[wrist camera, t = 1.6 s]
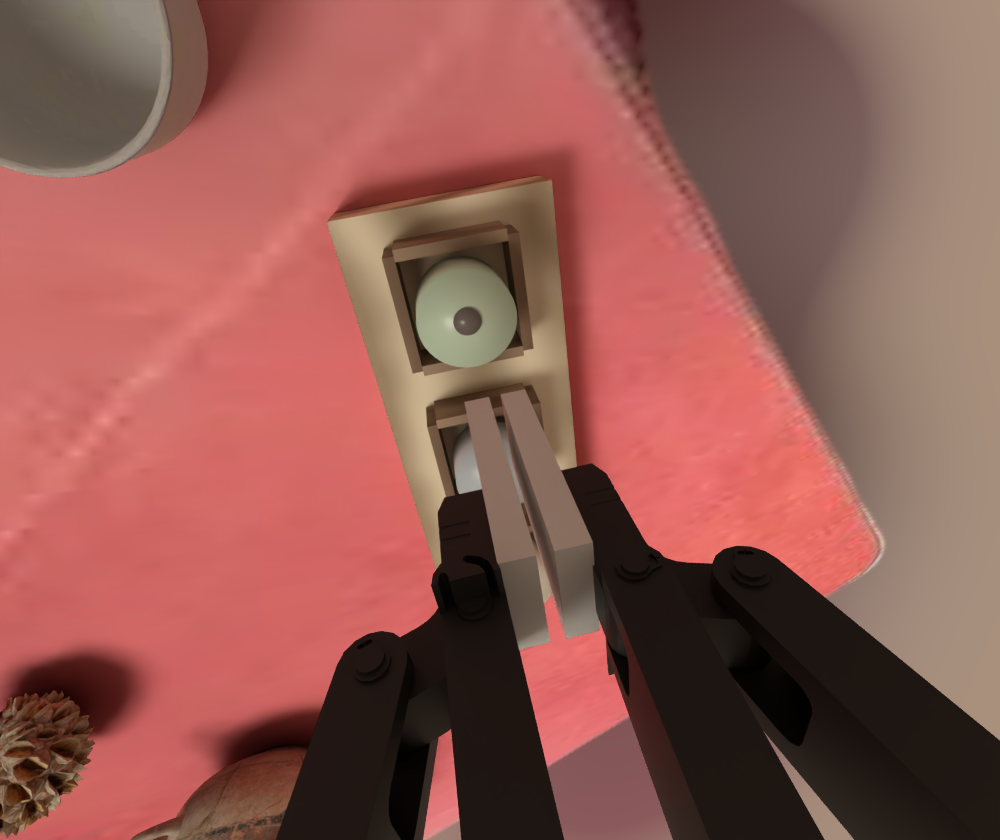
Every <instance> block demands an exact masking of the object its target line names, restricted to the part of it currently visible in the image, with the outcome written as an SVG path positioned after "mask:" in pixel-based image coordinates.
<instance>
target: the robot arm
mask: <svg viewBox="0 0 1000 840" xmlns="http://www.w3.org/2000/svg"><path fill="white" fill-rule="evenodd" d="M501 400H502V406H503V412H504V417H505V423H506V429H507V435H508V441H509V447H510V452H511V458H512V464H513V468H514V471H515V475H516V478H517V481H518V484H519V488H520V491H521V494H522V497H523V501H524V504H525V507H526V510H527V514H528V517H529V520H530V523H531V526H532V530H533V533H534V536H535V539H536V543H537V546H538V549H539V552H540V556H541V559H542V562H543V565H544V569H545V572H546V575H547V578H548V582H549V585H550V588H551V591H552V595H553V598H554V601H555V604H556V608H557V611H558V614H559V617H560V621H561V624H562V627H563V630H564V633H565V637H566V639H567V638H571V637H575V636H579V635H583V634H587V633H592V632H596V631H599V620H600V623H601V626H602V628H603V631H604V633H605V636H606V649H607V664H608V672H609V675H612V674H615V677H616V679H617V682H618V685H619V688H620V691H621V694H622V696H623V699H624V702H625V705H626V708H627V711H628V713H629V716H630V719H631V722H632V725H633V728H634V730H635V733H636V736H637V739H638V742H639V745H640V747H641V750H642V753H643V756H644V759H645V762H646V764H647V767H648V770H649V773H650V776H651V779H652V781H653V784H654V787H655V790H656V793H657V796H658V798H659V801H660V804H661V807H662V810H663V813H664V815H665V818H666V821H667V824H668V827H669V829H670V832H671V835H672V838H673V840H824V838H823V836H822V834H821V833H820V831H819V829H818V827H817V826H816V824H815V822H814V820H813V818H812V817H811V815H810V813H809V811H808V809H807V808H806V806H805V804H804V803H803V801H802V799H801V797H800V795H799V794H798V792H797V790H796V788H795V786H794V785H793V783H792V781H791V779H790V778H789V776H788V774H787V772H786V771H785V769H784V767H783V765H782V763H781V762H780V760H779V758H778V756H777V755H776V753H775V751H774V749H773V748H772V746H771V744H770V742H769V741H768V739H767V737H766V735H765V733H766V734H767V736H768V737H769V738H770V739H771V740H772V742H773V743H774V744H775V745H776V746H777V747H778V749H779V750H780V751H781V752H782V754H783V755H784V756H785V757H786V758H787V760H788V761H789V762H790V763H791V764H792V766H793V767H794V768H795V769H796V770H797V772H798V773H799V774H800V775H801V776H802V778H803V779H804V780H805V781H806V782H807V784H808V785H809V786H810V787H811V788H812V789H813V791H814V792H815V793H816V794H817V795H818V797H819V798H820V799H821V800H822V801H823V803H824V804H825V805H826V806H827V807H828V808H829V810H830V811H831V812H832V813H833V815H834V816H835V817H836V818H837V819H838V821H839V822H840V823H841V824H842V825H843V827H844V828H845V829H846V830H847V831H848V833H849V834H850V835H851V836H852V837H853V839H854V840H1000V741H999V740H998V739H997V738H996V737H995V736H994V735H992V734H991V733H990V732H989V731H987V730H986V729H985V728H984V727H983V726H981V725H980V724H979V723H977V722H976V721H975V720H974V719H973V718H972V717H970V716H969V715H968V714H967V713H965V712H964V711H963V710H962V709H961V708H959V707H958V706H957V705H956V704H954V703H953V702H952V701H951V700H950V699H948V698H947V697H946V696H945V695H943V694H942V693H941V692H940V691H939V690H937V689H936V688H935V687H934V686H932V685H931V684H930V683H929V682H928V681H926V680H925V679H924V678H923V677H921V676H920V675H919V674H918V673H916V672H915V671H914V670H913V669H912V668H910V667H909V666H908V665H907V664H906V663H904V662H903V661H902V660H901V659H899V658H898V657H897V656H896V655H895V654H893V653H892V652H891V651H890V650H888V649H887V648H886V647H885V646H883V645H882V644H881V643H880V642H879V641H877V640H876V639H875V638H874V637H872V636H871V635H870V634H869V633H867V632H866V631H865V630H864V629H863V628H862V627H860V626H859V625H858V624H857V623H855V622H854V621H853V620H852V619H851V618H849V617H848V616H847V615H846V614H844V613H843V612H842V611H841V610H839V609H838V608H837V607H836V606H834V605H833V604H832V603H831V602H830V601H828V600H827V599H826V598H825V597H824V596H822V595H821V594H820V593H819V592H818V591H816V590H815V589H814V588H813V587H811V586H810V585H809V584H808V583H807V582H805V581H804V580H803V579H802V578H800V577H799V576H798V575H797V574H796V573H794V572H793V571H792V570H791V569H789V568H788V567H787V566H786V565H785V564H783V563H782V562H781V561H780V560H778V559H777V558H775V557H774V556H772V555H771V554H769V553H767V552H766V551H763V550H760V549H757V548H753V547H748V546H734V547H730V548H726V549H724V550H722V551H721V552H720V553H718V554H717V555H716V556H715V558H714V561H713V563H712V564H707V563H686V562H678V561H674V560H671V559H667V558H665V557H663V555H662V554H661V553H660V552H659V551H657V550H655V549H653V548H652V547H650V546H648V545H647V543H646V542H645V540H644V539H643V537H642V535H641V533H640V532H639V530H638V528H637V526H636V525H635V523H634V521H633V519H632V518H631V516H630V514H629V512H628V511H627V509H626V507H625V505H624V504H623V502H622V501H621V499H620V497H619V495H618V493H617V491H616V490H615V489H614V486H613V484H612V483H611V481H610V479H609V477H608V476H607V474H606V473H605V472H603V471H602V470H600V469H599V468H598V467H596V466H595V465H593V464H587V465H583V466H578V467H574V468H569V469H565V470H561V469H560V467H559V465H558V463H557V460H556V458H555V456H554V454H553V451H552V449H551V447H550V445H549V442H548V440H547V438H546V436H545V433H544V431H543V429H542V427H541V424H540V422H539V420H538V418H537V415H536V413H535V411H534V409H533V406H532V404H531V402H530V400H529V397H528V395H527V393H526V391H525V389H524V390H519V391H514V392H509V393H505V394H501ZM464 403H465V408H466V413H467V418H468V423H469V427H470V432H471V437H472V442H473V447H474V452H475V457H476V462H477V467H478V472H479V477H480V481H481V486H482V489H480V490H476V491H471V492H466V493H462V494H457V495H453V496H448V497H444V499H443V502H442V504H441V506H440V508H439V510H438V512H437V513H438V526H439V539H440V552H441V564H440V565H439V566H438V568H437V569H436V571H435V572H434V574H433V578H432V584H431V587H432V590H433V593H434V596H435V599H436V602H437V605H438V609H437V611H436V612H435V614H434V615H433V616H432V617H431V618H430V619H429V620H428V621H427V622H425V623H424V624H422V625H421V626H419V627H418V628H416V629H414V630H412V631H411V632H409V633H407V634H405V635H403V636H402V637H398V636H397V635H395V634H394V633H390V632H384V631H379V632H375V633H370V634H367V635H365V636H363V637H362V638H360V639H358V640H356V641H355V642H354V643H353V644H352V645H351V646H350V647H349V648H348V649H347V650H346V651H345V652H344V653H343V655H342V657H341V659H340V661H339V662H338V664H337V667H336V670H335V672H334V675H333V678H332V681H331V684H330V687H329V689H328V692H327V695H326V698H325V701H324V704H323V707H322V709H321V712H320V715H319V718H318V721H317V724H316V726H315V729H314V732H313V735H312V738H311V741H310V743H309V746H308V749H307V752H306V755H305V758H304V760H303V763H302V766H301V769H300V772H299V775H298V777H297V780H296V783H295V786H294V789H293V792H292V794H291V797H290V800H289V803H288V806H287V809H286V811H285V814H284V817H283V820H282V823H281V826H280V828H279V831H278V834H277V837H276V840H423V835H424V828H425V822H426V815H427V809H428V802H429V796H430V789H431V782H432V776H433V769H434V763H435V756H436V750H437V743H438V737H439V736H441V735H443V734H444V733H446V732H447V731H449V730H450V729H451V732H452V743H453V754H454V764H455V775H456V786H457V797H458V808H459V818H460V829H461V840H564V837H563V833H562V829H561V824H560V820H559V816H558V812H557V808H556V803H555V800H554V795H553V791H552V786H551V782H550V778H549V774H548V770H547V765H546V761H545V757H544V753H543V748H542V744H541V740H540V736H539V732H538V727H537V723H536V719H535V715H534V710H533V706H532V702H531V698H530V694H529V689H528V685H527V681H526V677H525V673H524V668H523V664H522V660H521V656H520V651H519V650H521V649H525V648H529V647H534V646H538V645H542V644H546V643H550V639H549V632H548V626H547V620H546V614H545V607H544V601H543V595H542V589H541V582H540V576H539V570H538V564H537V557H536V553H535V550H534V546H533V543H532V540H531V536H530V533H529V530H528V526H527V523H526V520H525V516H524V513H523V509H522V506H521V503H520V499H519V496H518V493H517V489H516V486H515V483H514V479H513V476H512V473H511V469H510V466H509V463H508V459H507V456H506V453H505V449H504V446H503V442H502V439H501V436H500V432H499V429H498V426H497V422H496V419H495V416H494V412H493V409H492V406H491V402H490V399H489V397H486V398H481V399H476V400H471V401H467V402H464ZM763 731H764V732H765V733H764V732H763Z"/></svg>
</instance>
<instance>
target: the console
mask: <svg viewBox="0 0 1000 840" xmlns="http://www.w3.org/2000/svg"><path fill="white" fill-rule="evenodd" d="M327 225H328V228H329V232H330V235H331V238H332V241H333V244H334V247H335V251H336V254H337V257H338V260H339V263H340V266H341V270H342V273H343V276H344V279H345V282H346V286H347V289H348V292H349V295H350V298H351V301H352V305H353V308H354V311H355V314H356V317H357V320H358V324H359V327H360V330H361V333H362V336H363V340H364V343H365V346H366V349H367V352H368V355H369V359H370V362H371V365H372V368H373V371H374V374H375V378H376V381H377V384H378V387H379V390H380V393H381V397H382V400H383V403H384V406H385V409H386V413H387V416H388V419H389V422H390V425H391V428H392V432H393V435H394V438H395V441H396V444H397V447H398V451H399V454H400V457H401V460H402V463H403V467H404V470H405V473H406V476H407V479H408V482H409V486H410V489H411V492H412V495H413V498H414V501H415V505H416V508H417V511H418V514H419V517H420V520H421V524H422V527H423V530H424V533H425V536H426V540H427V543H428V546H429V549H430V552H431V555H432V559H433V562H434V565H435V568H436V569H437V568H438V566H439V565H440V564H441V552H440V539H439V526H438V513H437V512H438V510H439V508H440V506H441V504H442V502H443V499H444V497H448V496H453V495H457V494H459V492H458V490H457V485H456V478H455V471H454V463H453V456H452V451H453V445H454V442H455V440H456V438H457V437H458V435H459V434H460V433H461V432H462V431H463V430H464V429H465V428H466V427H467V426H469V423H468V418H467V413H466V408H465V403H464V402H467V401H471V400H476V399H481V398H486V397H489V399H490V402H491V406H492V409H493V412H494V416H495V418H502V419H505V417H504V412H503V406H502V400H501V394H505V393H509V392H514V391H519V390H524V389H525V391H526V393H527V395H528V397H529V400H530V402H531V404H532V406H533V409H534V411H535V413H536V415H537V418H538V420H539V422H540V424H541V427H542V429H543V431H544V433H545V436H546V438H547V440H548V442H549V445H550V447H551V449H552V451H553V454H554V456H555V458H556V460H557V463H558V465H559V467H560V469H561V470H565V469H569V468H574V467H577V462H576V451H575V439H574V428H573V416H572V405H571V393H570V382H569V371H568V359H567V348H566V336H565V325H564V313H563V302H562V291H561V279H560V268H559V256H558V245H557V234H556V222H555V211H554V199H553V188H552V180H551V179H548V178H545V177H543V176H540V175H538V176H533V177H527V178H522V179H516V180H511V181H506V182H500V183H495V184H490V185H484V186H479V187H473V188H468V189H463V190H457V191H452V192H447V193H441V194H436V195H430V196H425V197H420V198H414V199H409V200H404V201H398V202H393V203H387V204H382V205H377V206H371V207H366V208H361V209H355V210H350V211H344V212H339V213H334V214H333V215H332V216H331V217H330V219H329V220H328V221H327ZM453 256H470V257H474V258H477V259H480V260H482V261H484V262H485V263H487V264H489V265H490V266H491V267H492V268H493V269H494V270H495V271H496V272H497V273H498V274H499V276H500V277H501V279H502V281H503V282H504V284H505V285H506V287H507V289H508V290H509V292H510V294H511V296H512V298H513V300H514V303H515V306H516V310H517V325H516V330H515V333H514V336H513V338H512V340H511V342H510V344H509V345H508V347H507V348H506V349H505V350H504V351H503V352H502V353H501V354H500V355H499V356H498V357H496V358H495V359H494V360H492V361H490V362H488V363H486V364H483V365H480V366H476V367H467V368H463V367H455V366H451V365H448V364H445V363H443V362H441V361H439V360H438V359H437V358H435V357H434V356H433V355H432V354H430V353H429V351H428V350H427V349H426V348H425V346H424V345H423V343H422V342H421V339H420V337H419V334H418V331H417V326H416V305H415V298H416V291H417V288H418V285H419V282H420V281H421V279H422V277H423V276H424V274H425V273H426V272H427V271H428V270H429V269H430V268H431V267H432V266H433V265H434V264H436V263H438V262H439V261H441V260H443V259H446V258H449V257H453ZM521 506H522V509H523V513H524V516H525V520H526V523H527V526H528V530H529V533H530V536H532V537H534V538H535V536H534V533H533V530H532V526H531V523H530V520H529V517H528V514H527V510H526V507H525V504H524V501H523V502H522V503H521Z"/></svg>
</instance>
